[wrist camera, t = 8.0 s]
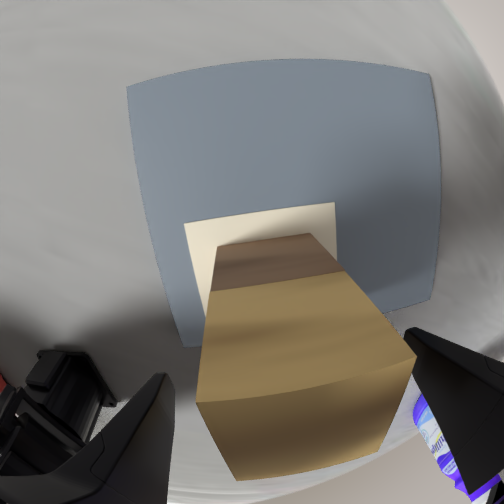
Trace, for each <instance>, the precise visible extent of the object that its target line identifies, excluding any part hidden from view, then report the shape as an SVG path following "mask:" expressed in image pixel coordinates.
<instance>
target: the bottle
mask: <svg viewBox="0 0 504 504" xmlns="http://www.w3.org/2000/svg"><path fill="white" fill-rule="evenodd" d="M413 419H414V423H415V425H417V427H418V429H419V431H420V432H421V434H422V436H423V438H424V439H425V441H426V443H427V445H428V446H429V448H430V450H431V452H432V454H433V455H434V457H435V459H436V461H437V463H438V464H439V466H440V468H441V471H442V472H443V473H444V474H445V475H447V476H448V477H449V478H451V479H453V480H455V488H456V489H459V490H461V491H463V492H464V493H466V494H467V495H468V493H467V490H466V488H465V485H464V483H463V480H462V478H461V475H460V473H459V470H458V468H457V465H456V463H455V461H454V457H453V456H452V454H451V451H450V449H449V447H448V445H447V443H446V440H445V438H444V436H443V434H442V432H441V430H440V428H439V426H438V424H437V422H436V420H435V418H434V416H433V414H432V412H431V410H430V408H429V406H428V404H427V402H426V400H425V398H424V396H423V394H422V395H421V396H420V398H419V399H418V401H417V403H416V405H415V407H414V410H413ZM500 480H501V478H500V476H499V474H497V475H496V476H495V477H493V478H492V479H491V480H490V481H488V482H487V483H486V484H484V485H483V486H482V487H480V488H479V489H478V490H476V491H475V492H474V493H472V494H471V495H468V497H469V498H470V500H471V501H472V504H484V503H486V502H487V499H488V496H489V493H490V490H491V488H492V487H493V486H494V485H495V484H496V483H497V482H499V481H500Z"/></svg>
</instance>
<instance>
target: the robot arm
mask: <svg viewBox="0 0 504 504" xmlns="http://www.w3.org/2000/svg"><path fill="white" fill-rule="evenodd" d="M403 340H404V341H405V342H406V343H407V344H408V346H409V347H410V348H411V350H412V351H413V352H414V353H415V355H416V356H417V357H416V361H415V364H414V367H413V370H412V375H413V377H414V379H415V381H416V383H417V385H418V387H419V389H420V391H421V393H422V394H423V396H424V398H425V400H426V402H427V404H428V406H429V408H430V410H431V412H432V414H433V416H434V418H435V420H436V422H437V424H438V426H439V428H440V430H441V432H442V434H443V436H444V438H445V440H446V443H447V445H448V447H449V449H450V451H451V454H452V456H453V457H454V461H455V463H456V465H457V468H458V470H459V473H460V475H461V478H462V480H463V483H464V485H465V488H466V490H467V493H468V495H471V494H472V493H474V492H475V491H476V490H478V489H479V488H480V487H482V486H483V485H484V484H486V483H487V482H488V481H490V480H491V479H492V478H493V477H495V476H496V475H497V474H499V476H500V478H501V480H500V481H499V482H497V483H496V484H495V485H494V486H493V487H492V488H491V490H490V493H489V496H488V499H487V502H486V504H504V363H503V362H500V361H497V360H495V359H492V358H490V357H487V356H484V355H482V354H480V353H477V352H475V351H472V350H470V349H468V348H465V347H463V346H460V345H458V344H455V343H453V342H451V341H448V340H446V339H443V338H441V337H438V336H436V335H434V334H431V333H429V332H426V331H424V330H422V329H419V328H417V327H412V328H409V329H407V330H406V331H405V334H404V338H403ZM37 357H38V359H39V361H38V362H37V364H36V365H35V366H34V368H33V369H32V371H31V372H30V374H29V375H28V376H27V378H26V381H25V382H26V384H27V386H26V388H25V389H23V388H22V387H21V386H20V387H19V388H17V389H16V388H15V387H12V386H11V385H9V384H7V385H6V386H5V387H4V389H3V390H2V392H1V393H0V504H167V494H168V482H169V472H170V462H171V453H172V445H173V436H174V427H175V389H174V386H173V384H172V382H171V380H170V378H169V376H168V374H167V373H156V374H154V375H153V376H152V378H151V379H150V380H149V381H148V382H147V383H146V384H145V385H144V386H143V387H142V388H141V389H140V390H139V391H138V392H137V393H136V394H135V395H134V397H133V398H132V399H131V400H130V401H129V402H128V403H127V404H126V405H125V406H124V407H123V408H122V409H121V410H120V411H119V412H118V413H117V414H116V415H115V416H114V417H113V418H112V420H111V421H110V422H109V423H108V424H107V425H106V426H105V427H104V428H103V429H102V430H101V432H99V433H98V434H97V435H96V436H95V437H94V438H93V439H92V440H91V441H90V438H91V435H92V432H93V430H94V427H95V424H96V422H97V419H98V416H99V414H100V411H101V409H102V406H103V407H116V405H117V401H116V399H115V398H114V397H113V395H112V393H111V392H110V390H109V389H108V387H107V386H106V384H105V383H104V381H103V379H102V378H101V376H100V374H99V373H98V371H97V369H96V368H95V366H94V364H93V362H92V361H91V359H90V357H89V356H88V355H87V354H86V353H80V352H53V351H39V352H38V353H37ZM15 413H16V414H17V415H18V416H19V417H18V418H17V417H16V416H15ZM89 441H90V442H89Z"/></svg>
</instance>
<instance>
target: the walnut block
mask: <svg viewBox="0 0 504 504" xmlns="http://www.w3.org/2000/svg"><path fill="white" fill-rule="evenodd" d="M340 271H345V269H344V268H343V267H342V266H341V265H340V264H339V263H338V262H337V261H336V260H335V258H334V257H333V256H332V255H331V254H330V253H329V252H328V251H327V250H326V249H325V248H324V247H323V246H322V245H321V244H320V243H319V241H318V240H317V239H316V238H315V237H314V236H313V235H312V234H311V233H305V234H298V235H291V236H284V237H277V238H271V239H264V240H257V241H250V242H244V243H237V244H230V245H224V246H217V250H216V256H215V263H214V269H213V276H212V283H211V289H210V292H211V291H219V290H226V289H233V288H240V287H247V286H254V285H261V284H267V283H274V282H280V281H287V280H293V279H299V278H305V277H311V276H317V275H323V274H329V273H334V272H340Z"/></svg>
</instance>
